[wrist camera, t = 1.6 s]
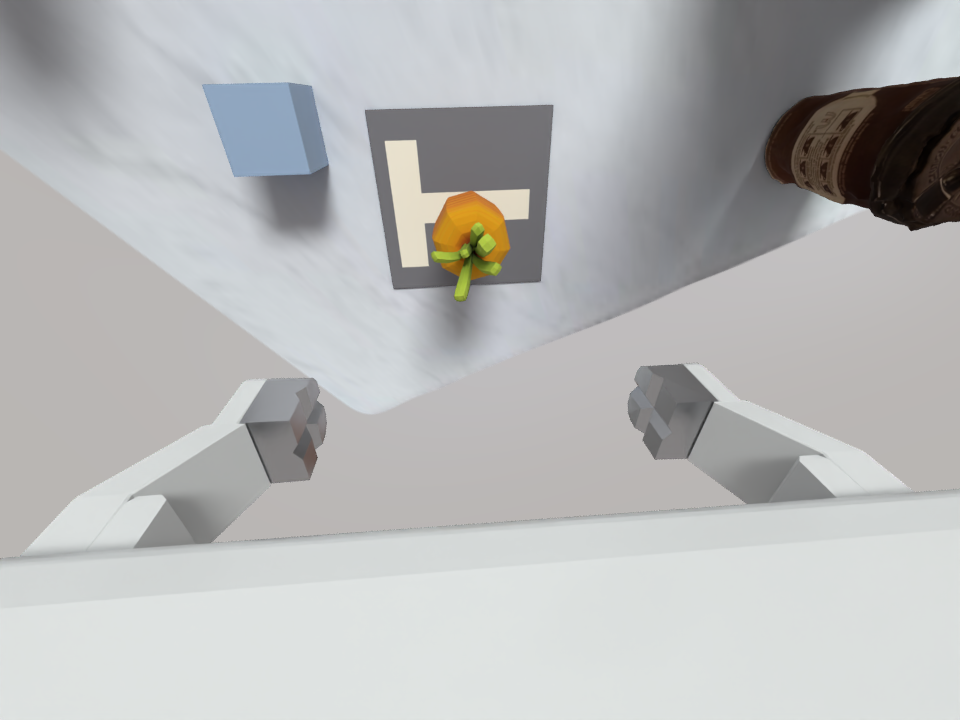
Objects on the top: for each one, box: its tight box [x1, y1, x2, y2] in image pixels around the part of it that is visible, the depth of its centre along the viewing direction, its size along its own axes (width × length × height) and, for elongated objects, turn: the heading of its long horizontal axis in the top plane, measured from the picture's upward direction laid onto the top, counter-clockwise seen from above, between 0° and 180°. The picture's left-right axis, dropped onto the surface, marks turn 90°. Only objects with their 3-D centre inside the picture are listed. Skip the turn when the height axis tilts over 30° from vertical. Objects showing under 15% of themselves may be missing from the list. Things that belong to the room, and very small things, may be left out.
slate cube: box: [202, 83, 329, 177], centre depth 26 cm, size 5×5×5 cm
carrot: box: [431, 191, 510, 302], centre depth 26 cm, size 5×5×15 cm
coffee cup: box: [765, 76, 960, 231], centre depth 26 cm, size 9×8×13 cm
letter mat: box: [365, 105, 553, 289], centre depth 32 cm, size 14×14×1 cm
